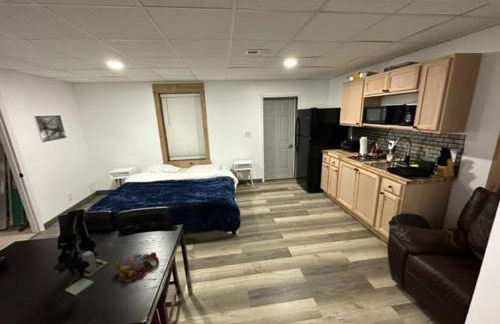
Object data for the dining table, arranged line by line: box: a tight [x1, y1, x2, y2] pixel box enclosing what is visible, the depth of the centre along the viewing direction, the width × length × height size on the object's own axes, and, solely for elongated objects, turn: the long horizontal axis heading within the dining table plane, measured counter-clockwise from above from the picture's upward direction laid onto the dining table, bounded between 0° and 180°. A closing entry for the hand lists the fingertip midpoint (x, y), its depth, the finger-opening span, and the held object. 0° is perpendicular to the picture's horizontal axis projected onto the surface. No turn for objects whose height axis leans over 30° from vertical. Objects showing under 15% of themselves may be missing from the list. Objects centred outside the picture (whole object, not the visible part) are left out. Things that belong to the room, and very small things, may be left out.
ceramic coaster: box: [64, 277, 95, 296], centre depth 123 cm, size 10×10×1 cm
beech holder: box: [83, 258, 109, 278], centre depth 138 cm, size 12×13×1 cm
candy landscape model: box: [112, 251, 160, 283], centre depth 137 cm, size 25×24×9 cm
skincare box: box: [81, 251, 97, 273], centre depth 136 cm, size 6×4×12 cm
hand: (77, 275), depth 122 cm, fingers open, 8 cm apart
